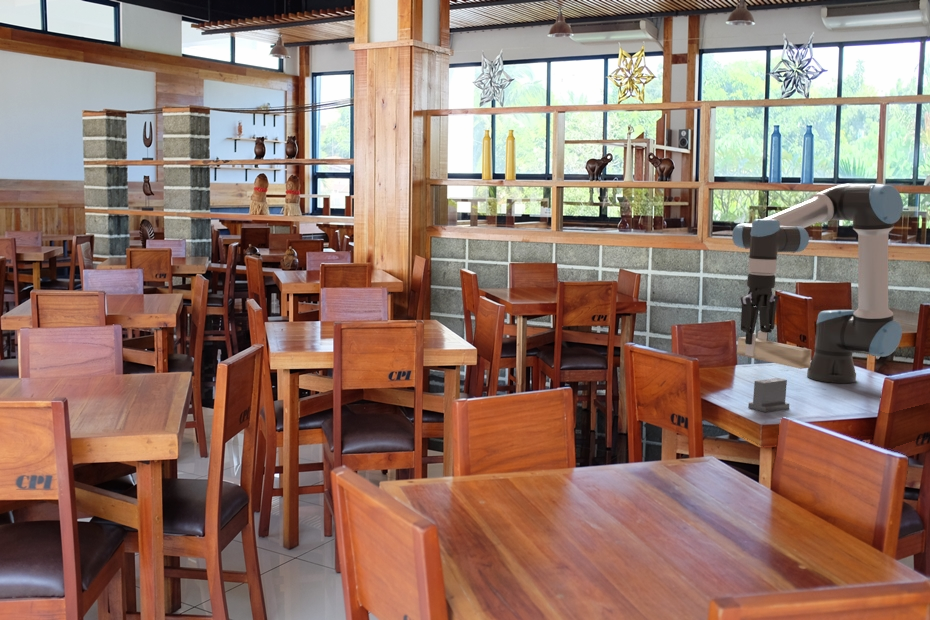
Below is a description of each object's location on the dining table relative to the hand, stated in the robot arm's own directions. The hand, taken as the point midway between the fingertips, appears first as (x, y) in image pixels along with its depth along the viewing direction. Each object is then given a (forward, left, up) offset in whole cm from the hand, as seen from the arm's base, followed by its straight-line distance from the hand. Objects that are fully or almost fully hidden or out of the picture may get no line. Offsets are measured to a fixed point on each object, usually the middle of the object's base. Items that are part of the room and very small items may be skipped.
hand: (755, 354), depth 261 cm
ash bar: (0, +6, -1) cm, 6 cm away
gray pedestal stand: (0, +6, -14) cm, 16 cm away
